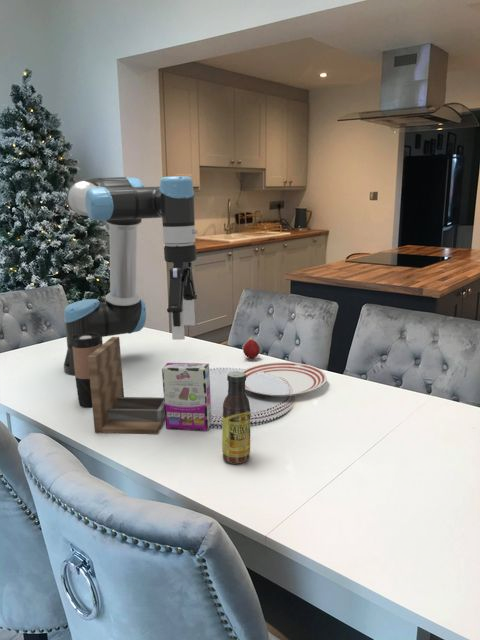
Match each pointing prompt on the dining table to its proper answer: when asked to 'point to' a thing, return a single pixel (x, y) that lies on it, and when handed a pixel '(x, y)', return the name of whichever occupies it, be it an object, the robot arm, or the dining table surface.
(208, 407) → the candy bar box
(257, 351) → the red rounded piece
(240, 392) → the sauce bottle
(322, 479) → the dining table surface
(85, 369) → the travel mug
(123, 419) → the brown wooden l-shaped stand
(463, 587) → the dining table surface
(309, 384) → the dinner plate
